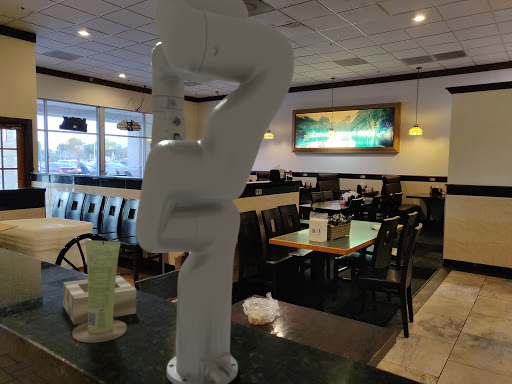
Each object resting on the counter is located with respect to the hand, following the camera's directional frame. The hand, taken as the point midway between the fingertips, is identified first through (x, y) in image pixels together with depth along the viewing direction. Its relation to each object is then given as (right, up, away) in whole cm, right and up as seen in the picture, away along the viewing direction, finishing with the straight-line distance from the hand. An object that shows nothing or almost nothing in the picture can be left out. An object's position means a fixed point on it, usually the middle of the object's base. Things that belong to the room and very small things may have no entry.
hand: (166, 178), depth 94 cm
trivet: (-12, -34, -9) cm, 37 cm away
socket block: (-18, -33, +3) cm, 37 cm away
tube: (-12, -34, -10) cm, 37 cm away
